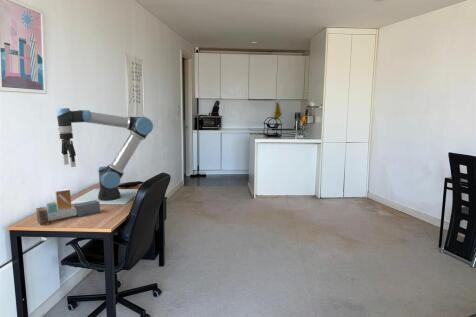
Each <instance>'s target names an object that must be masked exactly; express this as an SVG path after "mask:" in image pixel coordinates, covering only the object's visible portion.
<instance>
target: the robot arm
mask: <svg viewBox="0 0 476 317" xmlns="http://www.w3.org/2000/svg"><path fill="white" fill-rule="evenodd" d="M56 118H57V125H58V128H57V130H58V132H59V139H60V140H61V154H62V157H63V165H65V166H66V165H69V164H70V168H74V167H76V163H77V162H76V151H75V147H74V143H73V140H72V139H74V135H73V125H72V123H76V124H77V123H86V124H87V123H88V124H95V125H103V126H110V127H117V128H124V129H126V130H128V131H129V135H128V137H127V138H126V140H125V141H124V143H123V145H122V147H121V148H120V150H119V151H118V153H117V154H116V156H115V158H114V159H113V160H112V163H110V164H108V165H106V166H99V167H98V170H97V171H98V180H99V181H98V182H99V190H98V195H97V199H98V200H99V201H113V200H117V198H118V199H120V198H121V192H120V189H119V188H118V186H119V185H120V183H121V179H122V178H123V176H124V172H125V171H124V170H125V168H126V167H127V165H128V163H129V161H130V160H131V158H132V156H133V155H134V153H135V151H136V150H137V149H138V147H139V145H140V143H141V142H142V141H144V140H146V138H147V137H148V135H149V134H150V133H151V132H152V131H153V129H154V124H153V121H152V120H151V119H150V118H148V117H147V116H131V115H130V116H119V115H113V114H107V113H102V112H101V113H100V112H95V111H94V112H93V111H90V110H88V109H87V110H86V109H85V110H83V109H79V110H71V109H70V108H69V107H62V108H57V109H56ZM69 161H70V162H69Z"/></svg>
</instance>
